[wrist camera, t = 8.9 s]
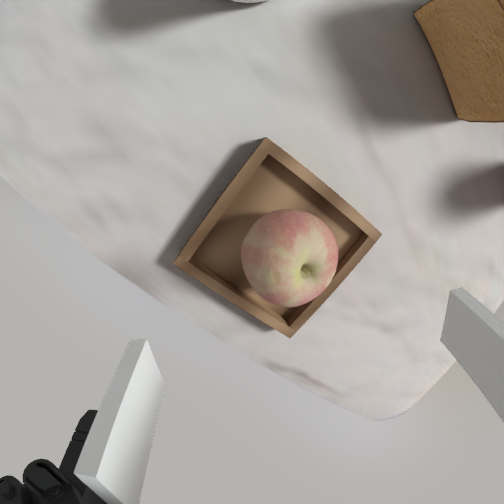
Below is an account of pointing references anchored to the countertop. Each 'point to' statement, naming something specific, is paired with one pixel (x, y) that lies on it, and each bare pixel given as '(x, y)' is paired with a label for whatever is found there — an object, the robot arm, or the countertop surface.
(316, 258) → the apple
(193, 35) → the countertop surface
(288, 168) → the walnut tray
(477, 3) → the bread
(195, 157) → the countertop surface
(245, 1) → the mug
